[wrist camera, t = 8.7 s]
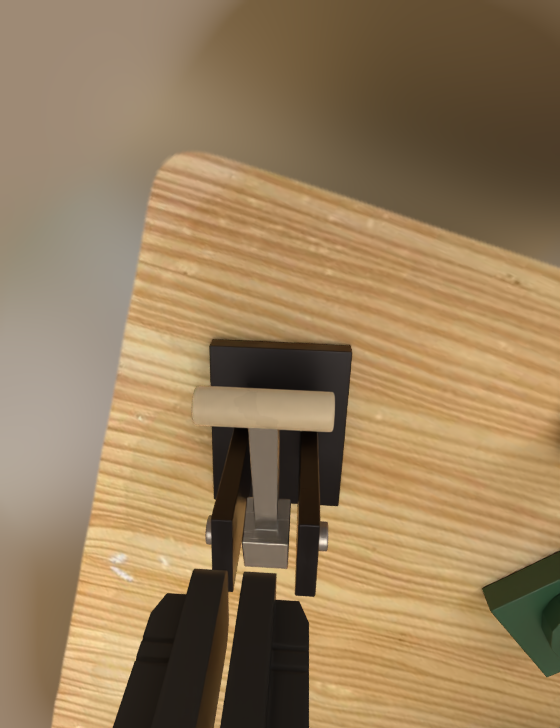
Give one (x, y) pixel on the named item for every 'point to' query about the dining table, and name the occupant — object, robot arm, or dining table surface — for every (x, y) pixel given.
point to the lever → (264, 454)
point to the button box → (531, 610)
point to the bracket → (296, 454)
